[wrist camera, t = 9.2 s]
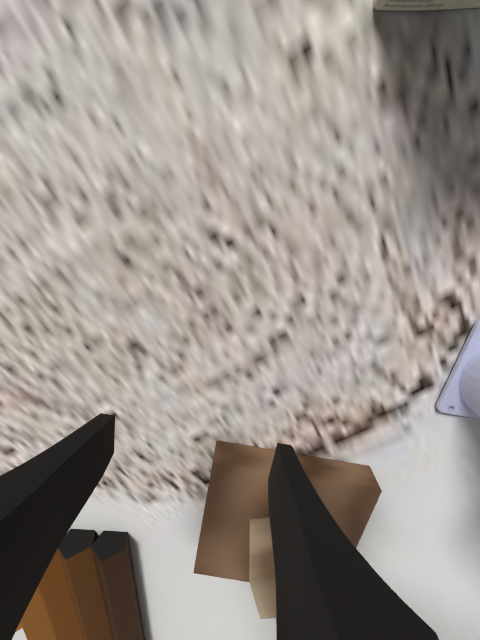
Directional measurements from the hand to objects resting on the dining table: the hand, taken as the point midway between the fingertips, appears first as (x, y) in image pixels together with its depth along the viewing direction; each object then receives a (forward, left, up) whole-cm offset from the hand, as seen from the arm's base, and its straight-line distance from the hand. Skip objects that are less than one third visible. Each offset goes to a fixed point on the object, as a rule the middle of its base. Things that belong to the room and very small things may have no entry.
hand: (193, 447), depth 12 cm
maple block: (-8, +16, -8) cm, 19 cm away
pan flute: (+16, +37, -11) cm, 42 cm away
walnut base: (-8, +16, -10) cm, 21 cm away
